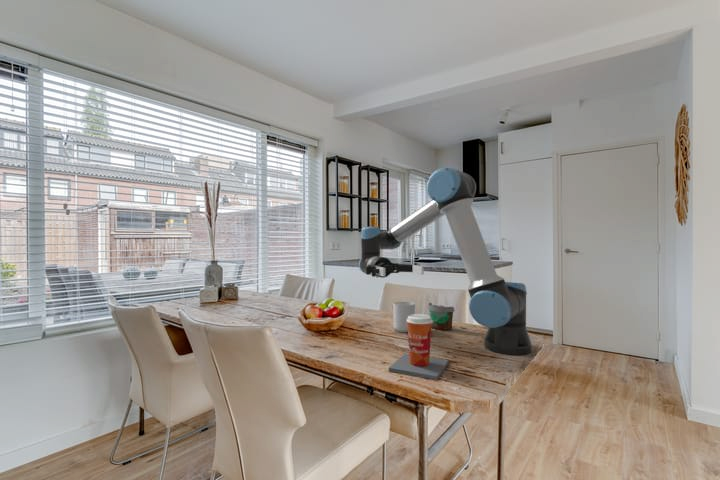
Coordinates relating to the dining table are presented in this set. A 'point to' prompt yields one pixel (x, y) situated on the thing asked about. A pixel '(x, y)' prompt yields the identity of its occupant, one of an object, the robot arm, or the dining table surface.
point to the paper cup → (419, 339)
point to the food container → (441, 317)
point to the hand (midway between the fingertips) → (403, 271)
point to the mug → (402, 315)
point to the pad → (428, 371)
